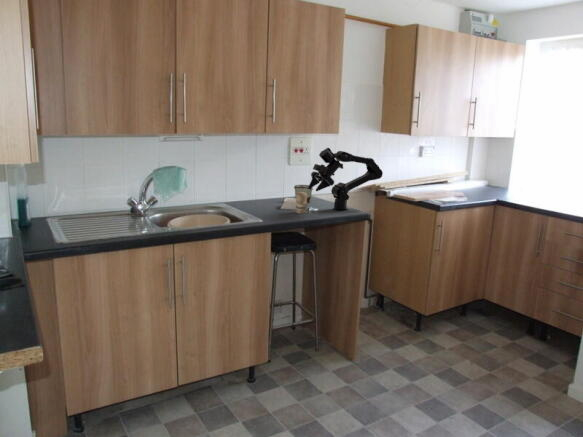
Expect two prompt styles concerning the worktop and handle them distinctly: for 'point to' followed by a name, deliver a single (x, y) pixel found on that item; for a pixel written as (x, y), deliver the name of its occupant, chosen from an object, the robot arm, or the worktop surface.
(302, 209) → the wooden post
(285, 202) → the well
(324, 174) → the robot arm
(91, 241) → the worktop surface
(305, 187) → the food container
